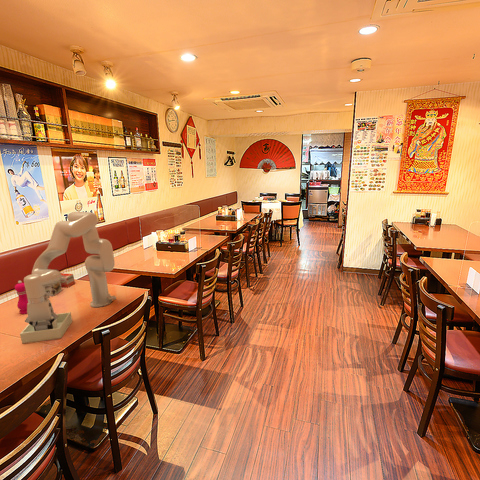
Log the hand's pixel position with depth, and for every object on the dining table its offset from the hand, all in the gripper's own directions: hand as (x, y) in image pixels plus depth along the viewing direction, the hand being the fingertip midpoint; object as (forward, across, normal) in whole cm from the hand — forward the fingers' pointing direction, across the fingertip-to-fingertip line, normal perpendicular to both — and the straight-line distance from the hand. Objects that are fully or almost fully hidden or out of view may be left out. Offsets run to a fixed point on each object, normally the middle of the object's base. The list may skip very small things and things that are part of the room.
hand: (44, 331), depth 144 cm
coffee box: (+3, +16, -58) cm, 60 cm away
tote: (+3, 0, -4) cm, 5 cm away
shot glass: (+3, 0, -8) cm, 9 cm away
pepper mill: (+3, +22, -33) cm, 40 cm away
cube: (0, 0, 0) cm, 0 cm away
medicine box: (+3, +16, -73) cm, 74 cm away
